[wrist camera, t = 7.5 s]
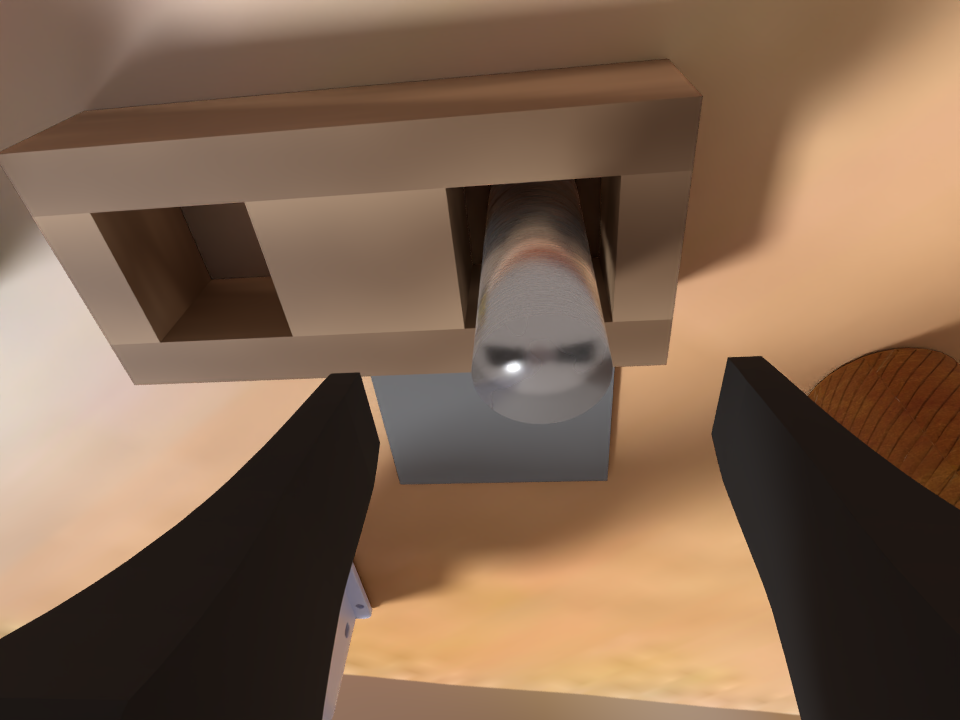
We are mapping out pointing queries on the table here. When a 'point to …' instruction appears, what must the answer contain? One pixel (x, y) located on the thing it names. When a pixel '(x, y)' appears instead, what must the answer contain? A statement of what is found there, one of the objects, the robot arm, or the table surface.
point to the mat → (484, 435)
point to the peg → (539, 307)
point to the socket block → (356, 216)
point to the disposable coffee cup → (902, 412)
